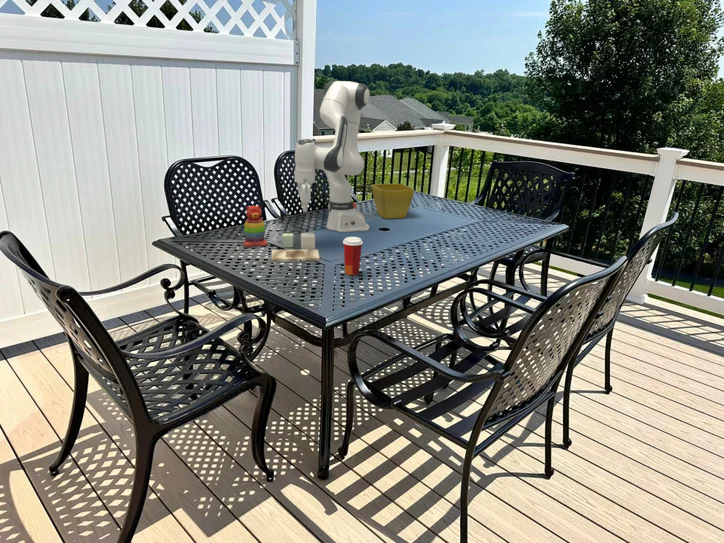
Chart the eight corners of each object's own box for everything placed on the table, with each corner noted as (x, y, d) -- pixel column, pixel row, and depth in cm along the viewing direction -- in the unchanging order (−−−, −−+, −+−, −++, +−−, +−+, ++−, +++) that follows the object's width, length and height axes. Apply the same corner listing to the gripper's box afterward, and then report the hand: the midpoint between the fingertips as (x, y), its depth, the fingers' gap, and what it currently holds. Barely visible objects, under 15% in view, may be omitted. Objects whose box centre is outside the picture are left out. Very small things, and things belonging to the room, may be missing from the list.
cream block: (314, 245, 237) (314, 232, 235) (314, 249, 232) (314, 236, 230) (301, 245, 236) (301, 233, 234) (301, 249, 231) (301, 236, 229)
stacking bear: (243, 247, 230) (241, 209, 224) (242, 241, 239) (240, 203, 233) (268, 246, 233) (266, 208, 227) (266, 240, 242) (264, 203, 236)
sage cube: (293, 244, 237) (292, 233, 235) (293, 247, 233) (293, 236, 231) (283, 244, 236) (282, 233, 234) (283, 247, 232) (282, 236, 230)
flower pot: (370, 212, 300) (371, 184, 294) (400, 211, 305) (402, 183, 299) (381, 220, 283) (382, 190, 277) (412, 219, 288) (414, 189, 282)
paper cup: (361, 269, 209) (362, 236, 204) (361, 276, 201) (363, 242, 196) (342, 269, 208) (342, 236, 203) (342, 276, 201) (342, 241, 196)
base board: (317, 251, 228) (317, 249, 228) (319, 260, 217) (319, 257, 216) (272, 252, 225) (272, 249, 225) (271, 261, 214) (271, 258, 214)
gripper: (314, 182, 213) (313, 214, 218) (309, 174, 232) (309, 204, 237) (299, 181, 212) (298, 214, 217) (295, 174, 231) (295, 204, 236)
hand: (304, 209), depth 227 cm, fingers open, 8 cm apart
